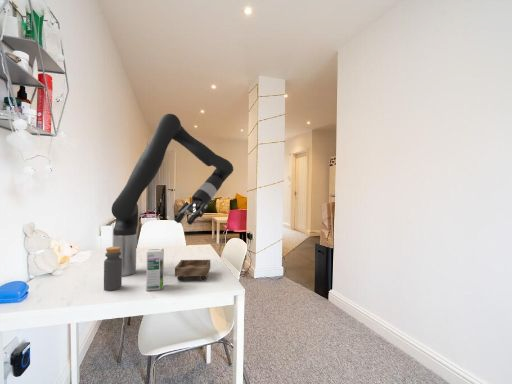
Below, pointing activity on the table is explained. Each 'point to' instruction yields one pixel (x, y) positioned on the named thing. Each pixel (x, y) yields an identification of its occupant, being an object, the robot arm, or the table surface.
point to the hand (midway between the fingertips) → (182, 222)
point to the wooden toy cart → (192, 269)
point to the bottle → (112, 269)
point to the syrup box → (155, 269)
